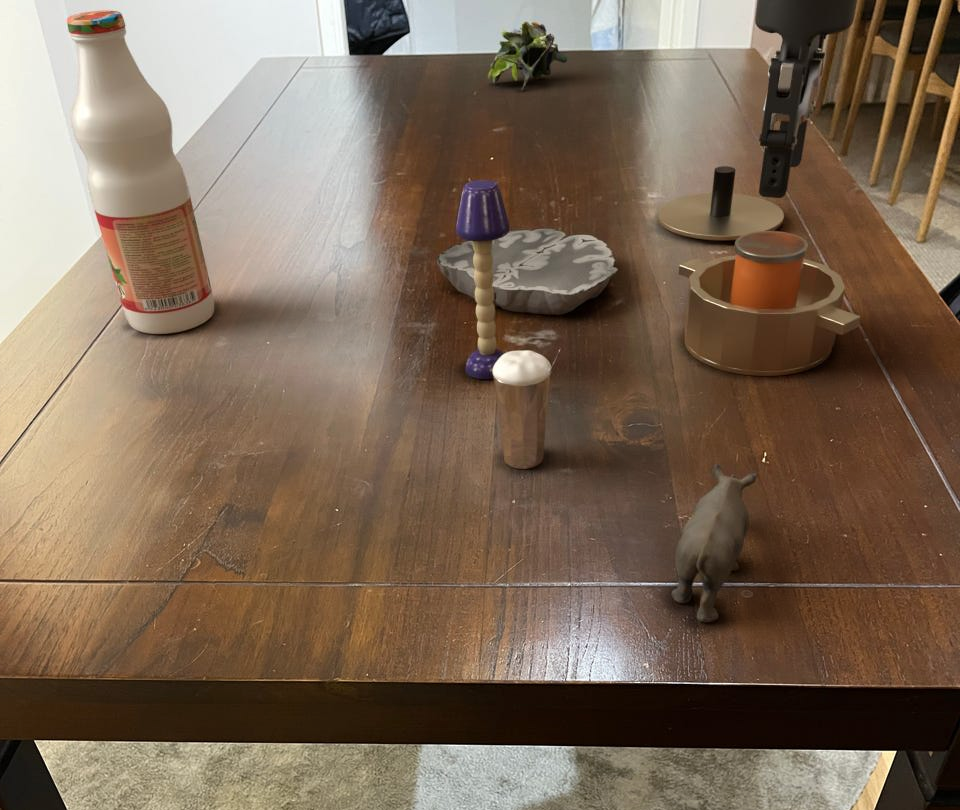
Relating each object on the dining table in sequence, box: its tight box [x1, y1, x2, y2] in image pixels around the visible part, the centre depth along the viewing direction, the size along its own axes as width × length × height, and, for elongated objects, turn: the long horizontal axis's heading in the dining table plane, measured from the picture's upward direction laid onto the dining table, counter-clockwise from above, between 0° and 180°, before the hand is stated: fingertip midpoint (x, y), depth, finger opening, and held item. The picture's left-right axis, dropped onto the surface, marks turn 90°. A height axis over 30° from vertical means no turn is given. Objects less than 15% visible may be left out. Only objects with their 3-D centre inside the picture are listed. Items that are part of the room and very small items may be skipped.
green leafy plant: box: [487, 21, 568, 92], centre depth 172 cm, size 11×11×12 cm
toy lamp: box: [455, 179, 510, 380], centre depth 90 cm, size 5×5×17 cm
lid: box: [657, 165, 785, 241], centre depth 119 cm, size 15×15×6 cm
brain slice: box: [436, 227, 618, 316], centre depth 109 cm, size 20×17×3 cm
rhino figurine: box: [671, 463, 757, 623], centre depth 70 cm, size 4×14×6 cm, turn 158°
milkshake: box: [493, 348, 562, 470], centre depth 80 cm, size 4×5×10 cm
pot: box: [678, 254, 861, 377], centre depth 95 cm, size 14×19×6 cm
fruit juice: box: [66, 9, 215, 335], centre depth 99 cm, size 9×9×28 cm
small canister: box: [730, 230, 809, 309], centre depth 94 cm, size 6×6×9 cm
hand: (780, 180), depth 87 cm, fingers open, 8 cm apart
